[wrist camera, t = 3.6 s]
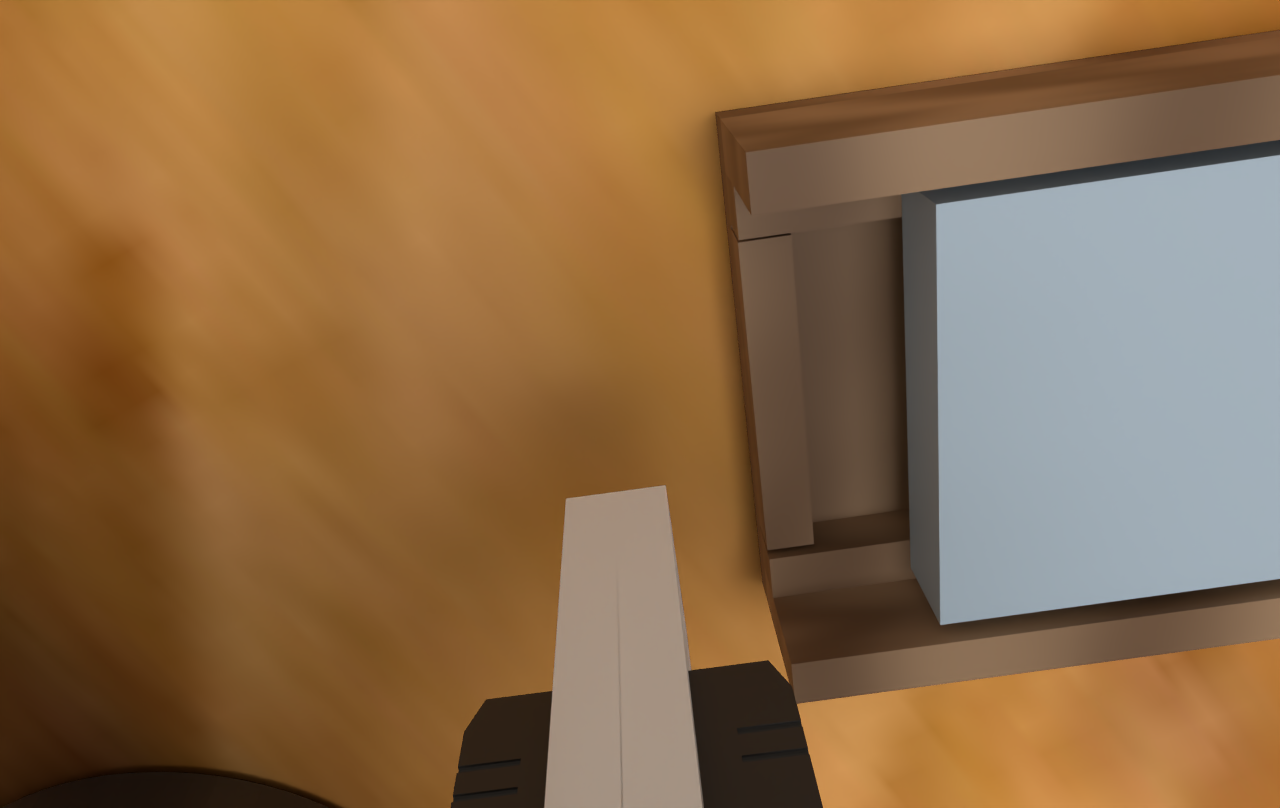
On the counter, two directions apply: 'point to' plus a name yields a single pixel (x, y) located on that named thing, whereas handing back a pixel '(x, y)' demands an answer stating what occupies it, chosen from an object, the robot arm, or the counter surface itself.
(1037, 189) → the cover plate
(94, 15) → the counter surface
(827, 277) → the lid box
